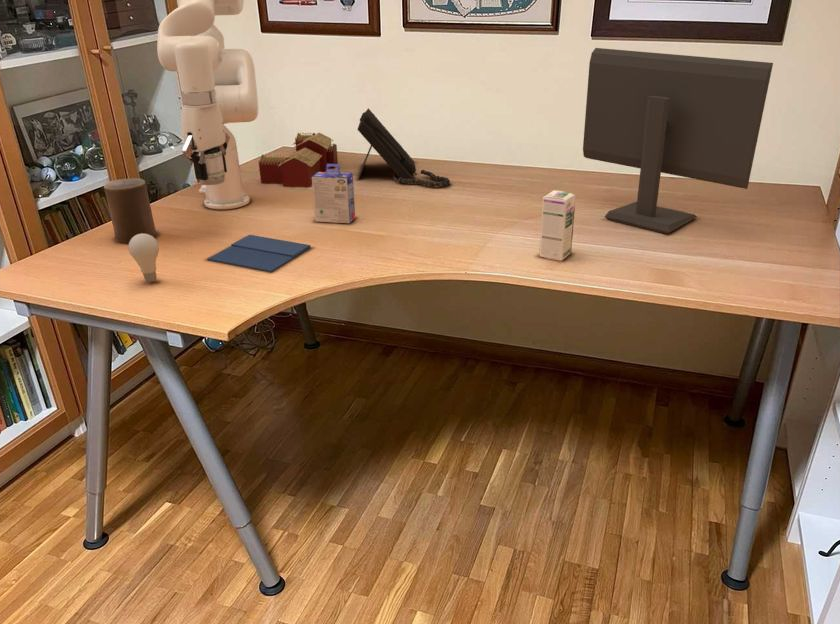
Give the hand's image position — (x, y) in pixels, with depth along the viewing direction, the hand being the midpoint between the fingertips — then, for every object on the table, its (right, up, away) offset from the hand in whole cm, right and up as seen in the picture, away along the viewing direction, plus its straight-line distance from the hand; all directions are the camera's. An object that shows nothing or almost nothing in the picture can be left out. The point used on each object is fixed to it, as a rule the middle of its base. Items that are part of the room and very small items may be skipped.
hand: (211, 175), depth 172 cm
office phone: (+46, +13, +53) cm, 71 cm away
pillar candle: (-21, -14, +8) cm, 26 cm away
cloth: (+13, -20, -4) cm, 24 cm away
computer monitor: (+111, -8, +14) cm, 112 cm away
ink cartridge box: (+28, -8, +17) cm, 34 cm away
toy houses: (+13, +18, +63) cm, 67 cm away
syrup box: (+82, -21, -7) cm, 85 cm away
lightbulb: (-8, -28, -17) cm, 34 cm away
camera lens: (0, -2, +1) cm, 2 cm away
